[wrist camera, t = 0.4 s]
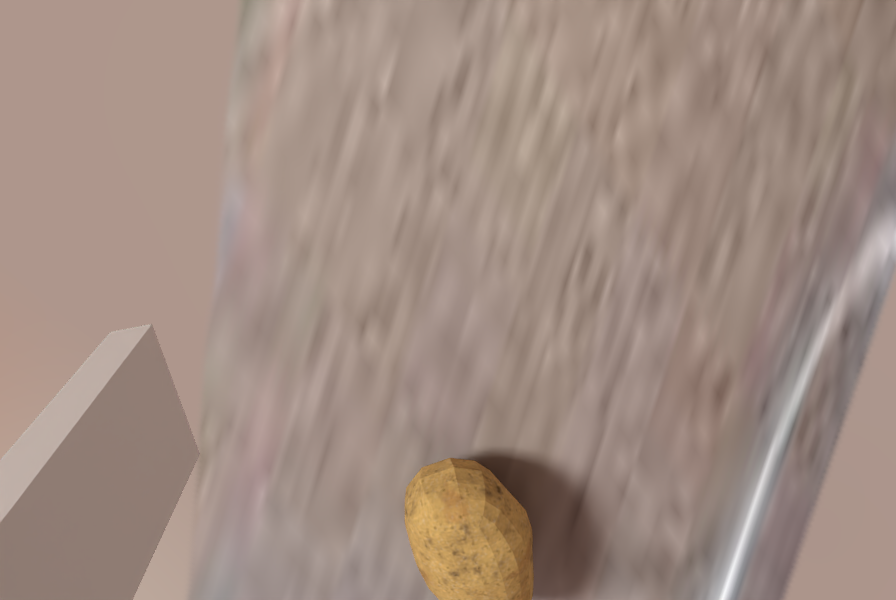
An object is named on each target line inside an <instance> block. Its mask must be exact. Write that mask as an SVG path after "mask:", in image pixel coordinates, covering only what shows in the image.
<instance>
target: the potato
mask: <svg viewBox="0 0 896 600" xmlns="http://www.w3.org/2000/svg"><path fill="white" fill-rule="evenodd" d="M405 525H406V529H407V533H408V537H409V541H410V545H411V548H412V551H413V554H414V558H415V561H416V564H417V566H418V568H419V571H420V572H421V574H422V576H423V578H424V580H425V582H426V584H427V586H428V587H429V589H430V590H431V591H432V592H433V593H434V594H435V596H436V597H437V598H438V599H439V600H531V599H532V596H533V580H534V573H533V553H532V543H533V537H532V528H531V525H530V522H529V519H528V516H527V512H526V510H525V509H524V508H523V507H522V506H521V505H520V503H519V502H518V501H517V500H516V499H515V498H514V497H513V496H512V494H511V493H510V492H509V491H508V490H507V489H506V488H505V487H504V486H503V485H502V484H501V482H500V481H499V480H498V479H497V478H496V477H495V476H494V475H493V473H492V472H491V471H490V470H488V469H487V468H485V467H484V466H482V465H481V464H479V463H477V462H476V461H473V460H464V459H454V458H448V459H445V460H442V461H440V462H437V463H434V464H431V465H428V466H425V467H422V468H421V469H420V471H419V472H418V473H417V475H416V476H415V477H414V479H413V480H412V481H411V482H410V484H409V485H408V486H407V488H406V496H405Z"/></svg>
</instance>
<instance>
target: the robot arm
mask: <svg viewBox="0 0 896 600" xmlns="http://www.w3.org/2000/svg"><path fill="white" fill-rule="evenodd" d="M199 455H200V453H199V450H198V447H197V445H196V442H195V439H194V437H193V434H192V431H191V428H190V426H189V423H188V420H187V418H186V415H185V412H184V409H183V407H182V404H181V401H180V399H179V396H178V393H177V391H176V388H175V385H174V383H173V380H172V377H171V374H170V372H169V369H168V366H167V363H166V361H165V358H164V355H163V353H162V350H161V347H160V344H159V342H158V339H157V336H156V334H155V331H154V328H153V326H152V324H149V325H144V326H139V327H134V328H129V329H123V330H118V331H113V332H110V333H109V334H108V336H107V337H106V338H105V339H104V340H103V341H102V342H101V343H100V345H99V346H98V347H97V348H96V349H95V350H94V352H93V353H92V354H91V355H90V356H89V358H88V359H87V360H86V361H85V362H84V363H83V364H82V366H81V367H80V368H79V369H78V370H77V372H76V373H75V374H74V375H73V376H72V377H71V378H70V380H69V381H68V382H67V383H66V384H65V385H64V387H63V388H62V389H61V390H60V391H59V392H58V393H57V395H56V396H55V397H54V398H53V399H52V400H51V402H50V403H49V404H48V405H47V406H46V407H45V409H44V410H43V411H42V412H41V413H40V415H39V416H38V417H37V418H36V419H35V420H34V421H33V423H32V424H31V425H30V426H29V428H27V430H26V431H25V432H24V433H23V434H22V435H21V437H20V438H19V439H18V440H17V441H16V442H15V443H14V445H13V446H12V447H11V448H10V449H9V450H8V452H7V453H6V454H5V455H4V456H3V457H2V459H1V460H0V600H133V597H134V595H135V593H136V591H137V589H138V586H139V584H140V582H141V580H142V578H143V576H144V573H145V571H146V569H147V567H148V565H149V563H150V560H151V558H152V556H153V554H154V552H155V550H156V548H157V545H158V543H159V541H160V539H161V537H162V535H163V532H164V530H165V528H166V526H167V524H168V522H169V520H170V517H171V515H172V513H173V511H174V509H175V507H176V504H177V502H178V500H179V498H180V496H181V494H182V491H183V489H184V487H185V485H186V483H187V481H188V478H189V476H190V474H191V472H192V470H193V468H194V465H195V463H196V461H197V459H198V457H199Z"/></svg>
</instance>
